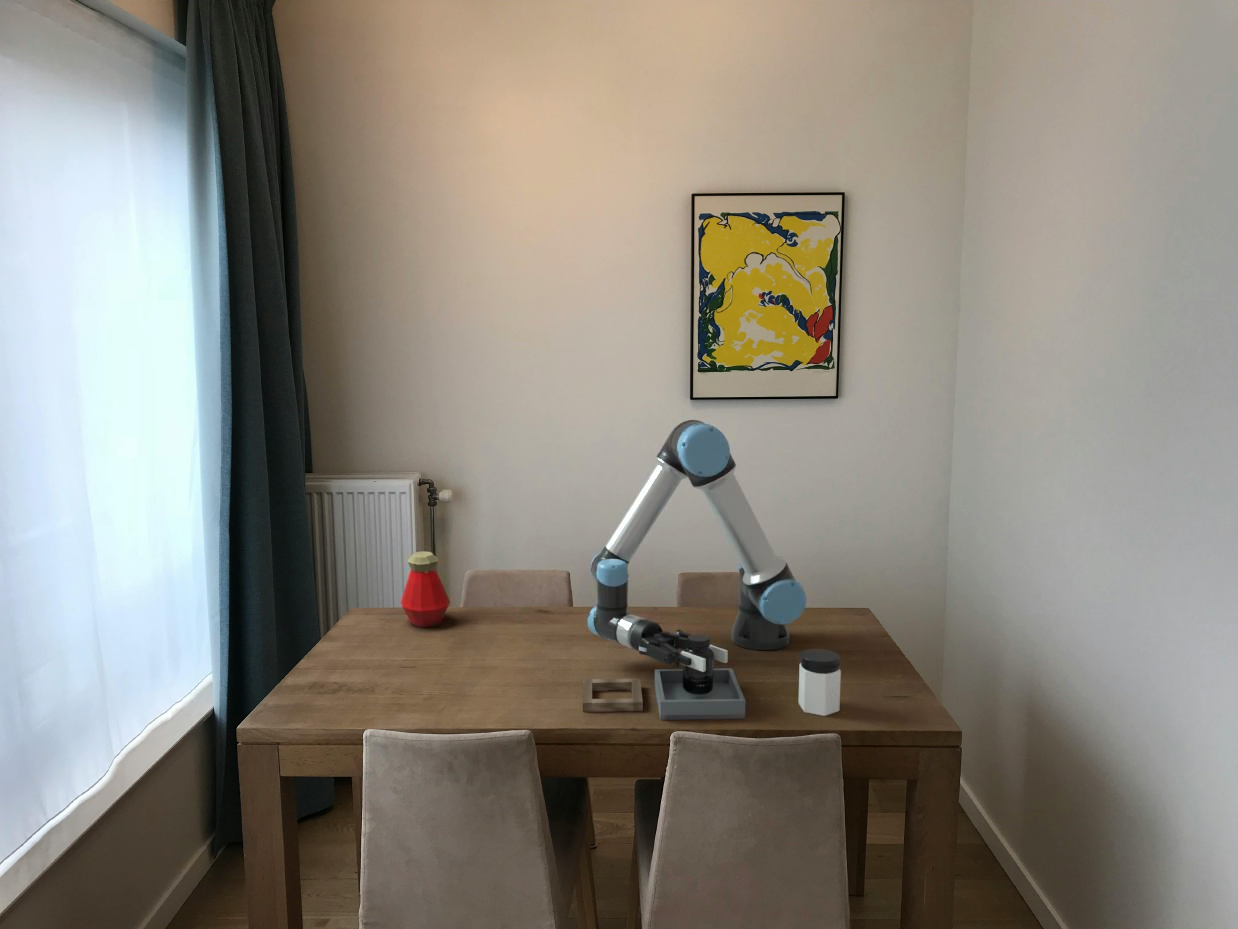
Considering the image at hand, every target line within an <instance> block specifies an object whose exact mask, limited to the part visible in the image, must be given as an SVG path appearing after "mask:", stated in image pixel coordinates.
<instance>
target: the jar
mask: <svg viewBox="0 0 1238 929" xmlns="http://www.w3.org/2000/svg"><path fill="white" fill-rule="evenodd" d="M840 662H841V661H840V655H839V654H838V653H837V652H836V651H833V650H829V649H824V648H809V649H806V650H804V651H802V652H801V655H800V663H799V666H798V667H799V668H798V669H799V671H798V672H799V674H798V676H799V677H798V700H797V701H798V706H800V708H801V710H802V711H803V713H807V714H811V715H816V716H823V717H826V716H830V715H831V714H832V715H833V714H835V713H837V712H839V711H840V708H841V707H840V702H841V701H840V700H841V676H842V674H841V673H842V671H841V669H840V665H841V663H840Z"/></svg>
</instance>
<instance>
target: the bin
mask: <svg viewBox="0 0 1238 929" xmlns="http://www.w3.org/2000/svg"><path fill="white" fill-rule="evenodd" d="M654 690H655V695H656V701H657V706H658V714H659V719H660V721H665V720H666V721H669V720H673V721H674V720H675V721H677V720H679V721H680V720H684V721H685V720H745V719H746V699H745V696H744V694H743V691H742V689H741V687H740V684H739V682H738V679H737V677H736V674H735V672H734V670H733V668H729V667H727V668H726V667H725V668H714V675H713V690H712V691H711V692H710V693H707V694H703V695H695V694H690V693H688V692H686V691H685V690H684V689H683V668H668V669H667V668H665V669H664V668H661V669H658V668H657V669H656V668H655V669H654Z"/></svg>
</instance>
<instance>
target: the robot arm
mask: <svg viewBox="0 0 1238 929" xmlns="http://www.w3.org/2000/svg"><path fill="white" fill-rule="evenodd" d="M655 460H656V464H655V466H654V467H653V469H652V471H651V472H650V474H649V475H648V477H647V479H646V481H644V483H643V485H642V486H641V488H640V490H639V491H638V493H637V495H636V496H635V498H634V499H633V501H632V502H631V504H630V505H629V507H628V509H627V511H626V512H625V514H624V515H623V516H622V519H621V520H620V521H619V523H618V524H617V527H615V529H614V531H613V533H612V534H611V535H610V537H609V539H608V541H607V543H606V544H605V546H604V547H603V548H602V550H601V551H600V553H597V554H596V555H595V556H594V557H593V558H592V560H591V562H590V563H591V564H590V573H591V576H592V578H593V579H594V580H593V581H594V582H595V585H596V601H597V602H596V606H595V605H594V607H592V608H591V610H590V612H589V615H588V617H587V627H588V629H589V631H590V632H591V633H592V634H593V635H597V636H598V637H599V638H602V639H604V640H607V641H608V640H609V641H612V642H614V643H617V644H620V645H623V646H624V647H628V648H629V649H630V650H635V651H638V654H640V655H642V656H643V655H644V656H647V657H650V658H652V659H653V660H656V661H658V662H660V663H662V664H664V665H667V666H671V665H672V663H673V666H674V667H675V668H679V667H680V665H682V666H683V665H686V666H688V667H691V668H694V669H697V670H699V671H702V672H704V671H706V659H704V658H702V657H699V656H696V655H693V654H690V653H688V652H685V651H684V650H685V649H686V648H687V647H688V646H687V643H688V637H689V636H690V635H694V634H692V633H689V632H685V631H683V630H682V629H676V630H675V632H676V633H671V632H669V631H665V630H663V629H662V627H661V626H660V624H659V623H658V622H656V621H652V620H649V619H646V618H643V617H642V616H638V615H634V614H631V613H629V612H628V609H629V608H628V606H629V603H628V602H629V601H628V600H629V596H628V594H629V577H630V575H629V569H628V567H629V563H630V561H631V560H632V559H633V557H634V555H635V554H636V552H637V551H638V550H639V548H640V546H641V544H642V543H643V541H644V540H645V539H646V537H647V535H648V534H649V532H650V530H651V529H652V527H653V525H654V524H655V522H656V521H657V520H658V518H659V516H660V515H661V514H662V512H663V510H664V509H665V507H666V505H668V502H669V501H670V499H671V498H672V496H673V495H674V493H675V491H676V490H677V488H678V487H679V485H680V483H681V482H682V480H684V479H688V480H689V481H690V484H691V485H692V487H693V488H694V489H698V490H701V491H702V492H703V495H704V497H705V499H706V500H707V501H706V502H707V503H708V504H709V506H710V508H711V511H712V512H713V514H714V516H715V517H716V520H717V522H718V524H719V525H720V528H721V529H722V531H723V533H724V535H725V537H726V539H727V540H728V542H729V544H730V546H731V548H732V550H733V552H734V554H735V556H736V558H737V559H738V561H739V565H738V566H739V567H738V611H737V615H736V617H735V621H734V623H733V627H732V629H731V637H730V638H731V641H732V643H734V644H735V645H736V646H739V647H742V648H744V649H748V650H755V651H757V650H758V651H773V650H779V649H782V648H785V647H786V646H788V645H789V643H790V633H789V629H788V627H787V625H788V624H790V623H793V622H794V621H796V620H797V619H799V617H800V616H801V615H802V614H803V613H804V611H805V608H806V607H807V606H806V605H807V594H806V590H805V589H804V587H803V585H801V583H800V582H798V581H797V580H796V578H795V577H794V575H793V572H792V571H791V568H790V566H789V565H788V563H787V561H786V559H785V558H783V557H782V556H779V555H776V553H775V551H774V549H773V547H772V545H771V543H770V542H769V539H768V537H767V535H766V534H765V531H764V530H763V527H762V526H761V524H760V521H759V520H758V519H757V516H756V514H755V512H754V511H753V509H752V507H751V504H750V503H749V500H748V499H747V497H746V495H745V493H744V491H743V489H742V487H741V486H740V483H739V480H737V478H736V476H735V471H736V467H737V463H736V462H735V460H734V458H733V456H732V454H731V450H730V444H729V440H728V439H727V437H726V435H724V433H723V432H722V431H721V430H720V429H719V428H717V427H715V426H714V425H711V424H709V423H705V422H704V421H702V420H696V419H688V420H684V421H682V422H680V423H679V424H677V425H676V426H675V427H674V428H673V430H671V432H670V433H669V435H668V437H667V439H666V440H665V442H664V444H663V445H662V447H661V449H660V451H659V452H658V453H657V454H656V457H655ZM709 643H710V647H709V648H710V649H711V650H712V651H713V653H714V661H718V662H720V663H724V664H726V663H728V655H729V653H728V652H729V651H728V650H727V649H725V648H722V647H718V646H717V645H716V646H715V645H712V644H711V641H710V642H709ZM679 650H682V651H679Z"/></svg>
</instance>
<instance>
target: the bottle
mask: <svg viewBox="0 0 1238 929" xmlns="http://www.w3.org/2000/svg"><path fill="white" fill-rule="evenodd" d="M438 562H439V558H438V557H437V556H436V555H435V554H434V553H433V552H431V551H417V552H413V554H412V555H410V556H409V558H407V563H408V565H409V567H410V570H409V575H408V577H407V582H406V583H405V587H404V591H403V593H402V597H401V601H400V605H401V607H402V608H403V610H404V612H405V614H406V616H407V618H408V619H409V622H410V623H411V625H412V626H413V627H417V628H423V629H424V628H425V629H426V628H434V627H437V626H440V625H441V623H442V621H443V618H444V616H445V614H446V612H447V610H448V607H449V605H450V603H451V601H450V598H449V596H448V593H447V592H446V590H445V587H444V585H443V583H442V580H441V578H440V576H439V574H438V572H437V569H436V568H437V566H438Z"/></svg>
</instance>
